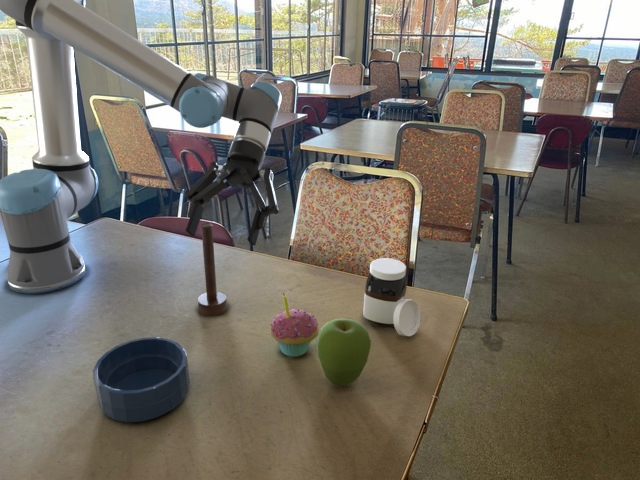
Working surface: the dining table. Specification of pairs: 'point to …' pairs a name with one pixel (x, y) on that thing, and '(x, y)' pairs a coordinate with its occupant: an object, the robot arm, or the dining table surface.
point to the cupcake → (294, 330)
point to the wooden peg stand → (210, 278)
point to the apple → (343, 350)
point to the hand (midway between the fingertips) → (220, 238)
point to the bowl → (141, 379)
